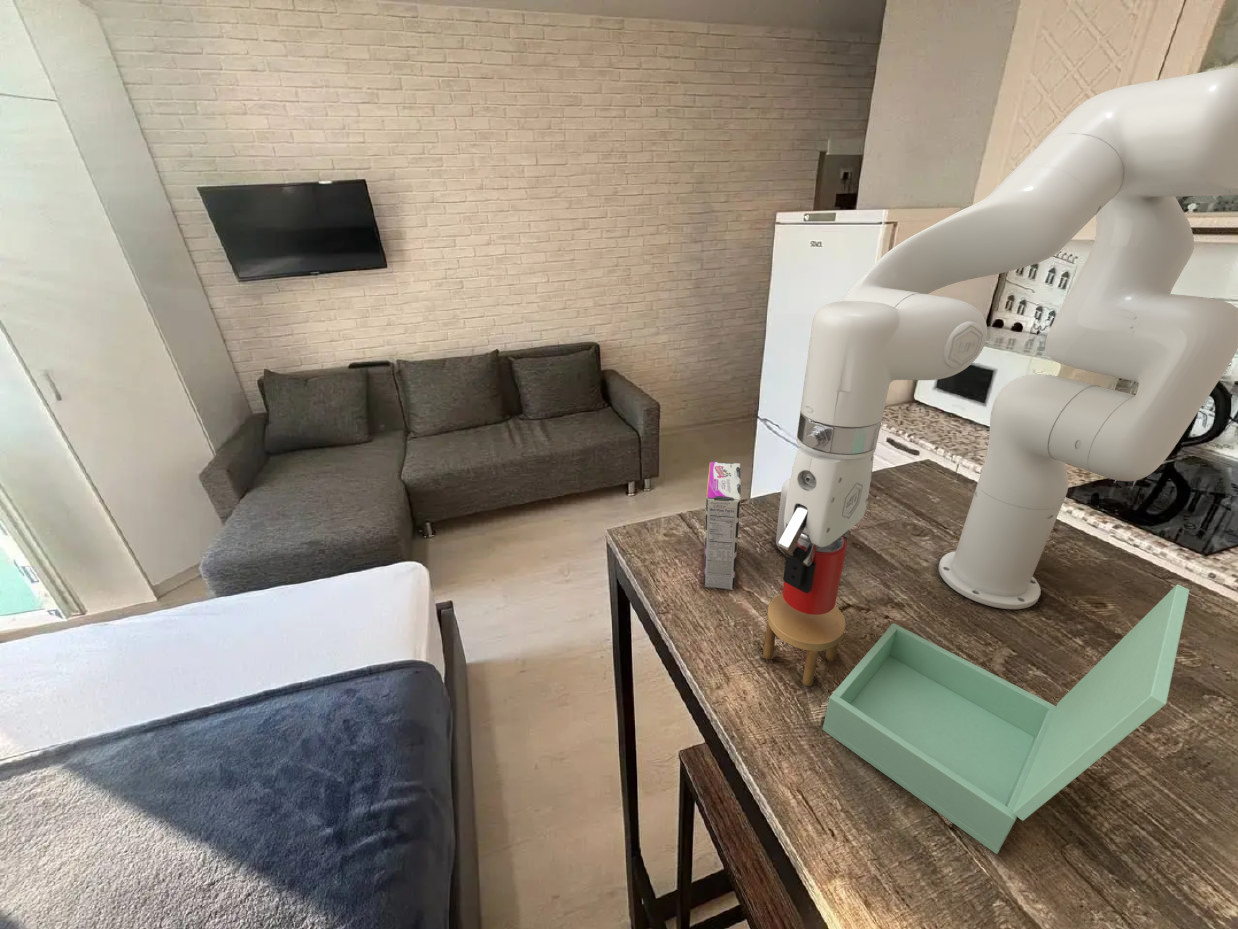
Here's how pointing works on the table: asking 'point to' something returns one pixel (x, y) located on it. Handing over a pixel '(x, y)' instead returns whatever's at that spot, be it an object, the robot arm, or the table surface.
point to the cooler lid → (1107, 702)
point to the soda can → (819, 579)
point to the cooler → (941, 730)
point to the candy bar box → (722, 525)
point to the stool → (804, 633)
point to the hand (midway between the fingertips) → (812, 571)
